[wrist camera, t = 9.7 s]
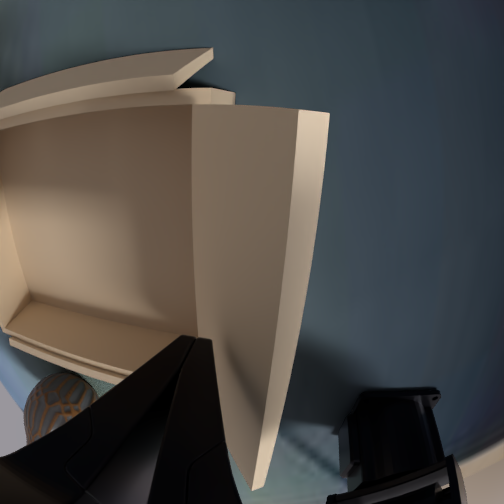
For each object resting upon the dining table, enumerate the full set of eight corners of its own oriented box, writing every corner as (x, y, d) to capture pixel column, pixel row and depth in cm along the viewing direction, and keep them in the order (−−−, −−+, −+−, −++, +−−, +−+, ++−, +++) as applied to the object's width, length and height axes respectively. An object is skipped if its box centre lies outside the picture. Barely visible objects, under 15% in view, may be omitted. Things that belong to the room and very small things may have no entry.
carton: (237, 48, 11) (210, 21, 7) (229, 363, 18) (213, 422, 14) (-2, 92, 12) (-57, 103, 8) (42, 320, 20) (10, 357, 16)
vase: (39, 363, 23) (-7, 427, 15) (76, 357, 21) (23, 439, 13) (83, 410, 25) (48, 474, 18) (126, 411, 23) (91, 490, 16)
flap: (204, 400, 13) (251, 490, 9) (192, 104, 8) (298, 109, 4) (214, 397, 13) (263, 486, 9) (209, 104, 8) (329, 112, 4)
